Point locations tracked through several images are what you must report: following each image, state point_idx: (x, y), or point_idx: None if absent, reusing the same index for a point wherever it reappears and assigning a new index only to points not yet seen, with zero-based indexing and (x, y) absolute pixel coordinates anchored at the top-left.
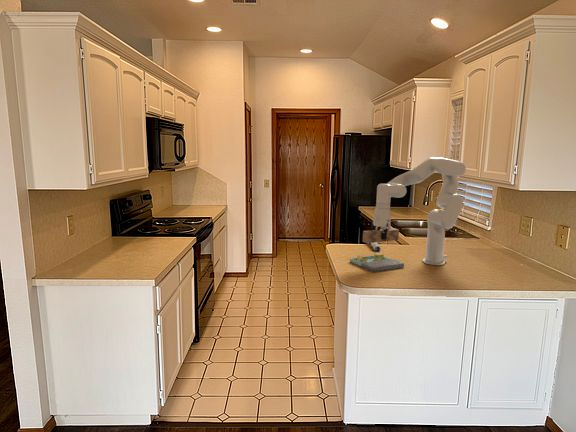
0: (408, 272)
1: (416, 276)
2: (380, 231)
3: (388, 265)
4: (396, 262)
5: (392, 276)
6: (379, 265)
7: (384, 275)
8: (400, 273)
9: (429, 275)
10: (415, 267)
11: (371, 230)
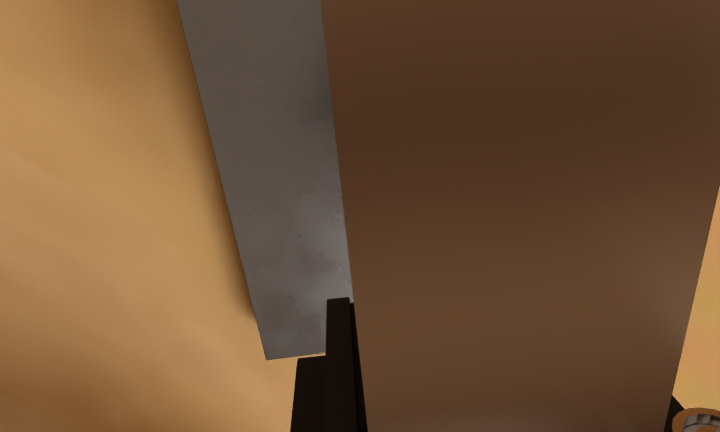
0: (129, 294)
1: (6, 293)
2: (368, 428)
3: (224, 178)
4: (308, 312)
5: (11, 76)
6: (243, 76)
7: (50, 7)
8: (106, 212)
9: (32, 396)
10: (254, 413)
11: (686, 155)
